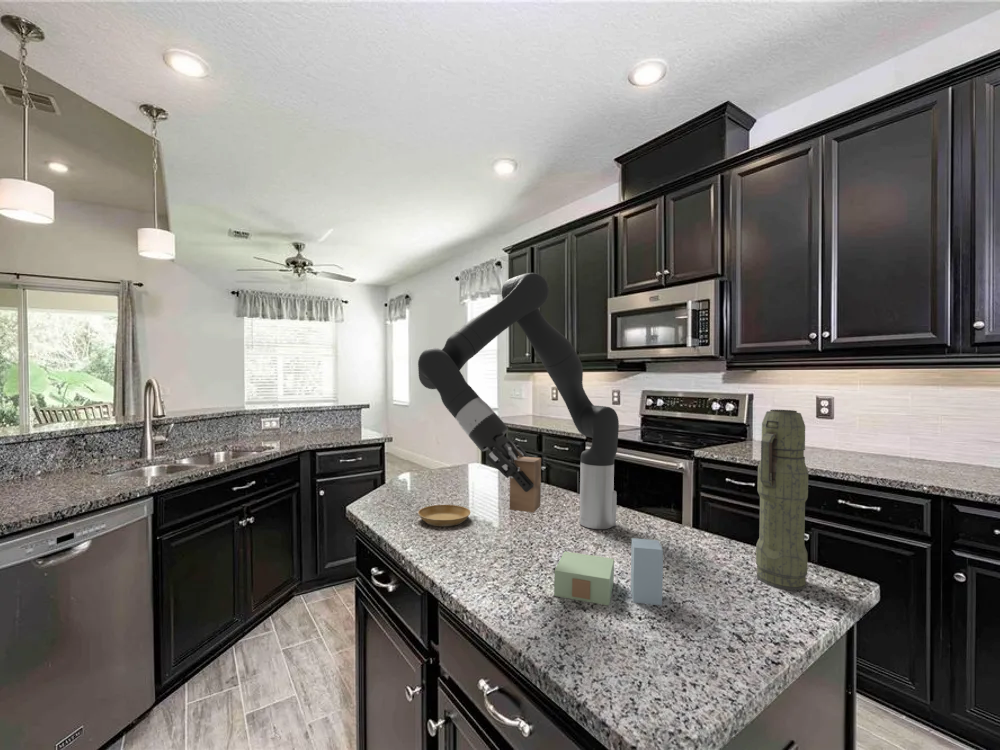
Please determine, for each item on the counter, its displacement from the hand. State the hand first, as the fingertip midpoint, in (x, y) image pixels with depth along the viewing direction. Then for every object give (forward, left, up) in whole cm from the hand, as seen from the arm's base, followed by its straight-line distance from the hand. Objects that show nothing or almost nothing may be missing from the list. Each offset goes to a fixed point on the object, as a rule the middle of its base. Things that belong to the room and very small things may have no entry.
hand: (534, 485), depth 92 cm
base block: (-8, +8, -19) cm, 22 cm away
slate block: (-17, +14, -19) cm, 29 cm away
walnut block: (+1, -1, -5) cm, 5 cm away
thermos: (-49, +16, -19) cm, 54 cm away
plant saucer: (+9, -41, -19) cm, 46 cm away
